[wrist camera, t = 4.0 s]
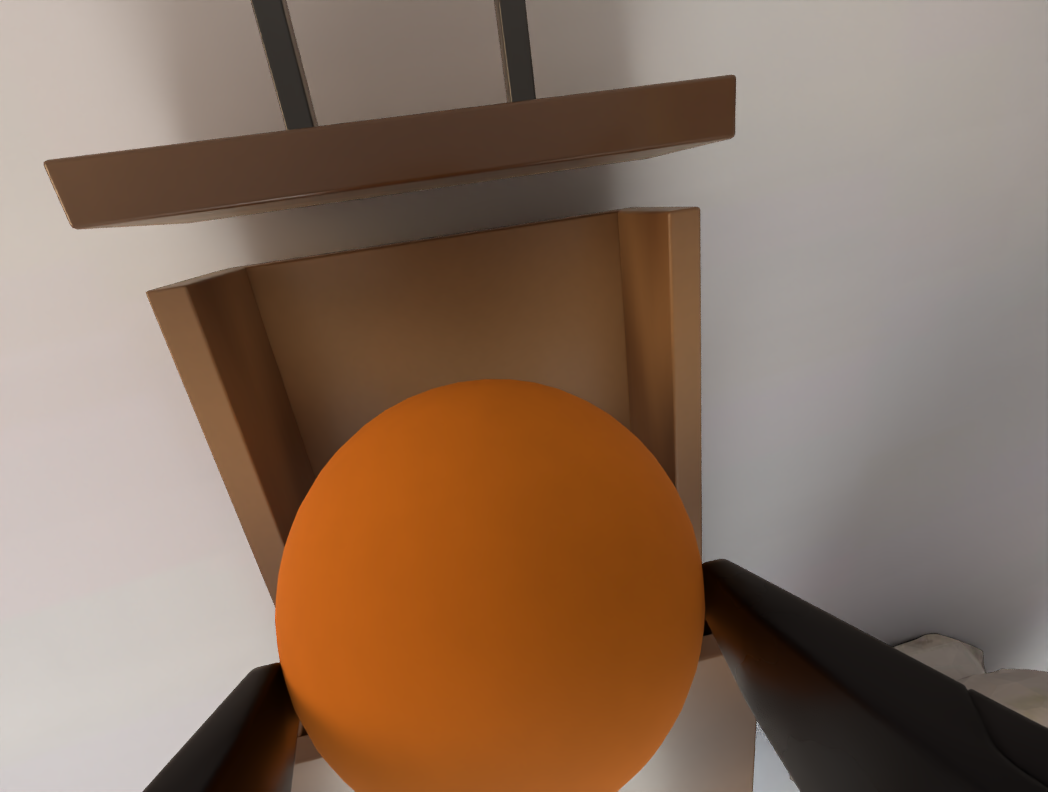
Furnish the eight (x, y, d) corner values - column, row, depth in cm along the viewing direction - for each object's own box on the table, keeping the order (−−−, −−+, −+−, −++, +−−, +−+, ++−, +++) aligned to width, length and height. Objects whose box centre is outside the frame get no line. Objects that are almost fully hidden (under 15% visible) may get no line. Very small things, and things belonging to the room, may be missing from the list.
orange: (607, 312, 12) (844, 452, 5) (625, 562, 15) (795, 874, 8) (286, 367, 11) (45, 624, 4) (368, 621, 14) (303, 1027, 7)
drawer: (98, -21, 12) (-103, -159, 7) (639, -70, 13) (743, -211, 9) (343, 655, 20) (317, 784, 15) (665, 579, 21) (725, 677, 17)
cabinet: (316, 597, 20) (264, 770, 14) (667, 519, 21) (761, 644, 15) (416, 869, 27) (411, 1065, 20) (677, 795, 28) (744, 957, 22)
